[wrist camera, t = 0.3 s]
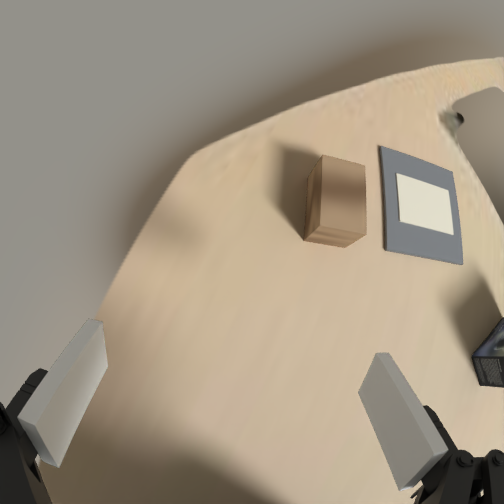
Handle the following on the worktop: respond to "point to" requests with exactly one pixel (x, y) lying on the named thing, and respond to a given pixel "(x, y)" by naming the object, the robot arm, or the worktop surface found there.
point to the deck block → (335, 203)
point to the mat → (420, 208)
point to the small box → (491, 358)
